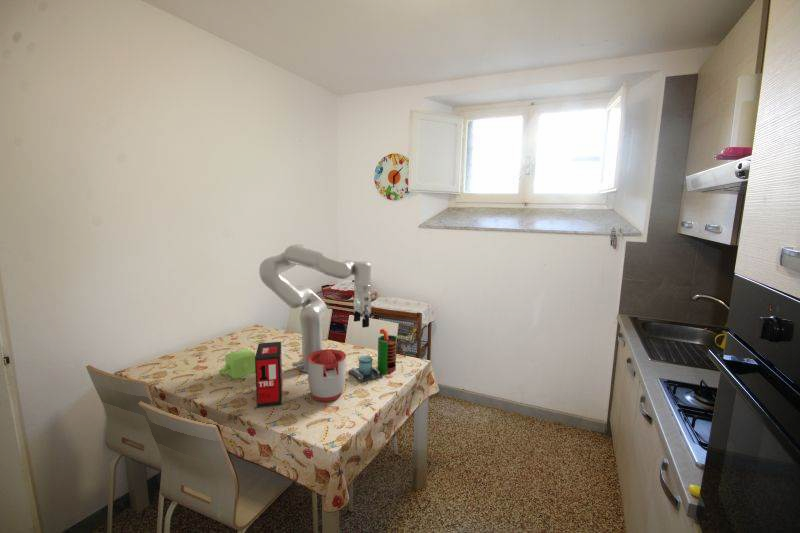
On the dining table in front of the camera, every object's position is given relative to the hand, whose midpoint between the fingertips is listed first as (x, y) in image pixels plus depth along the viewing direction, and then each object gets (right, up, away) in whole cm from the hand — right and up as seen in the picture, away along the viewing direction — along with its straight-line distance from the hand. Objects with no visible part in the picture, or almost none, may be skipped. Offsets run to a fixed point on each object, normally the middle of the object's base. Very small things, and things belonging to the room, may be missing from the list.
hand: (361, 324), depth 170 cm
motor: (+12, -23, +5) cm, 26 cm away
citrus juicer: (-11, -27, -21) cm, 36 cm away
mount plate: (+2, -24, -1) cm, 24 cm away
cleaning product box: (-35, -26, -22) cm, 49 cm away
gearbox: (-56, -23, -2) cm, 61 cm away
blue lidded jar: (+2, -23, -1) cm, 23 cm away
